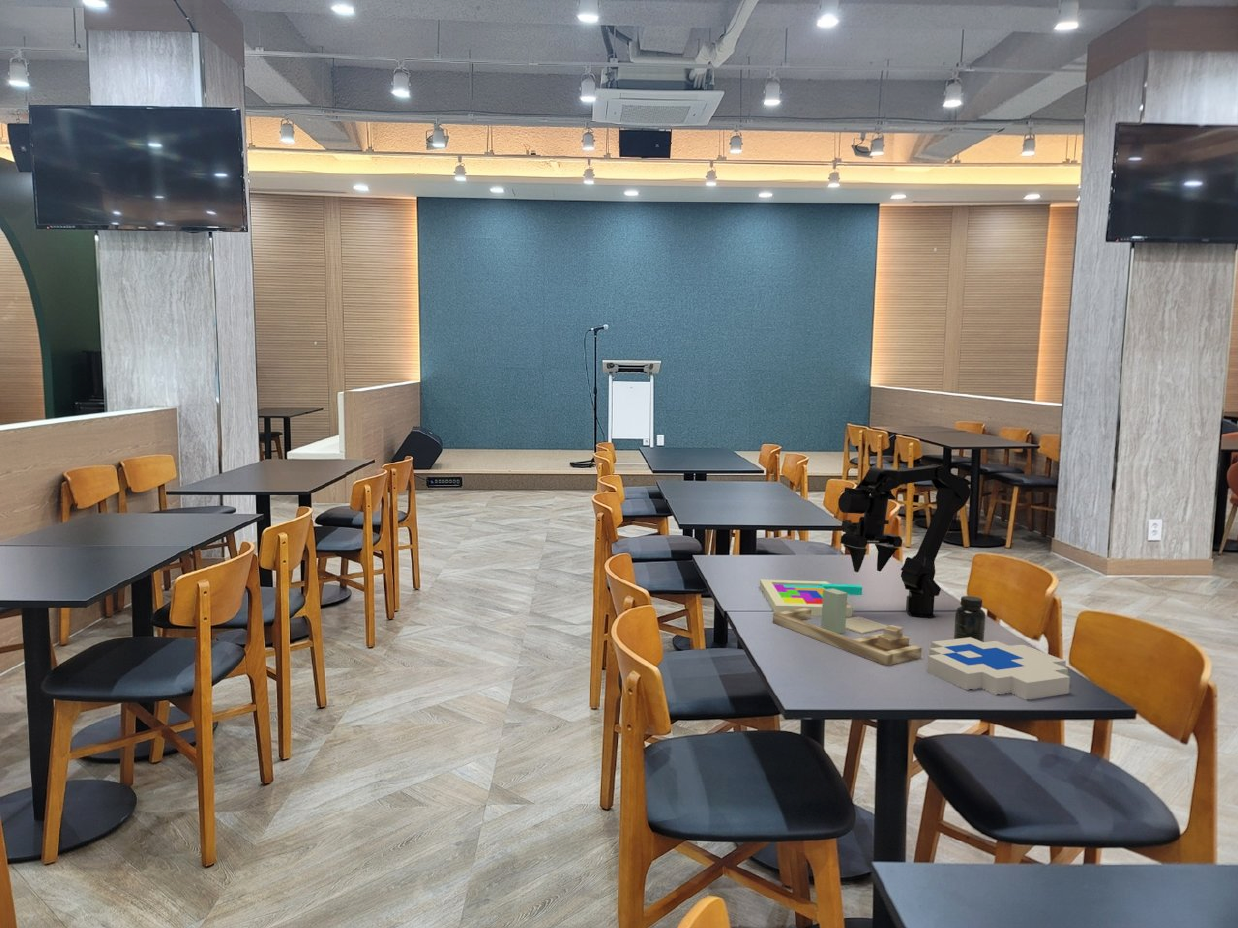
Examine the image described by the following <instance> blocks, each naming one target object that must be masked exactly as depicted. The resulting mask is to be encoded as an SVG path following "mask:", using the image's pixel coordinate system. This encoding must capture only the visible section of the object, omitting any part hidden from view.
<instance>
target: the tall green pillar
mask: <svg viewBox="0 0 1238 928" xmlns="http://www.w3.org/2000/svg"><path fill="white" fill-rule="evenodd" d="M847 602H848V595H847V593H846V592H843V591H840V590H836V589H833V588H832V589H826V590H823V604H822V616H821V625H820V626H821V627H820V628H823V629H826V630H829V631H831V632H834V633H837V634H839V635H842V634H845V633H846V629H845V626H846V618H847V617H846V609H847Z"/></svg>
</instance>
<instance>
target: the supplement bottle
mask: <svg viewBox="0 0 1238 928" xmlns="http://www.w3.org/2000/svg"><path fill="white" fill-rule="evenodd" d="M960 605H961V606H959V607H958V608H956V610H955V615H954V617H955V619H954V629H953V630H954V632H953V639H960V638H969V637H971V638H974V639H976V640H979V641H981V642H985V629H986V618H987V616H986V612H985V611H984V610H983V609H982V608H983V599H982V598H981V597H977V596H972V595H971V596H970V595H965V596H961V598H960Z"/></svg>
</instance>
